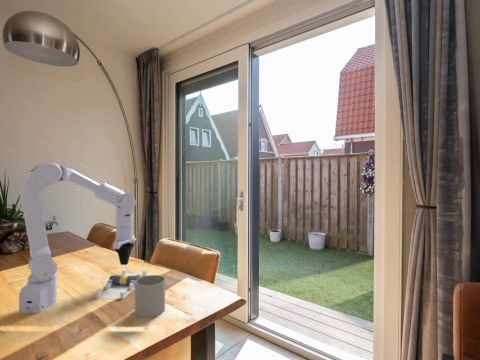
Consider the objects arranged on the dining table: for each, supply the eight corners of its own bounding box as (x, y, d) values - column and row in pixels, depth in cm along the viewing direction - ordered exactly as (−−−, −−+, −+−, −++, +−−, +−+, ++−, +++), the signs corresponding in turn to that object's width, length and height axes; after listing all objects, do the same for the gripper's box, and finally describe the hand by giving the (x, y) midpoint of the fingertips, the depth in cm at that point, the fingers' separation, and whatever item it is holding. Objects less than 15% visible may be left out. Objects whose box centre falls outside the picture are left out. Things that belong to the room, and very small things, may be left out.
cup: (154, 305, 89) (154, 273, 89) (170, 313, 84) (171, 279, 84) (129, 315, 83) (129, 280, 83) (145, 324, 77) (145, 287, 77)
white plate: (123, 302, 91) (123, 290, 91) (94, 301, 91) (94, 290, 91) (147, 276, 115) (147, 267, 115) (124, 276, 115) (125, 267, 115)
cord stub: (140, 282, 105) (140, 274, 105) (136, 286, 102) (137, 277, 102) (112, 282, 105) (112, 274, 105) (108, 285, 102) (108, 276, 102)
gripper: (127, 230, 96) (127, 270, 96) (142, 223, 110) (142, 258, 110) (106, 230, 96) (106, 270, 96) (124, 223, 110) (123, 258, 110)
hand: (124, 264), depth 103 cm, fingers closed
